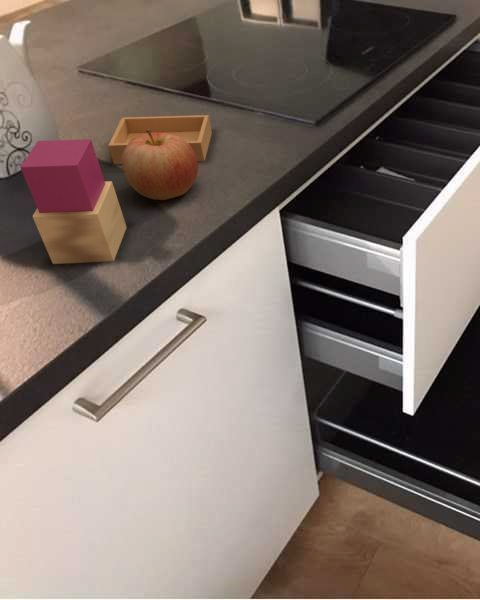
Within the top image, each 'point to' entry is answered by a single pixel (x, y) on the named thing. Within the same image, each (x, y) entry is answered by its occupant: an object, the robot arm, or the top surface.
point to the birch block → (84, 231)
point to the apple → (159, 165)
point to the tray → (185, 127)
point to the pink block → (63, 175)
